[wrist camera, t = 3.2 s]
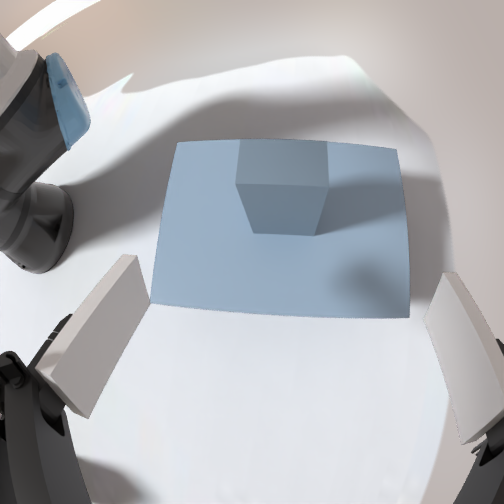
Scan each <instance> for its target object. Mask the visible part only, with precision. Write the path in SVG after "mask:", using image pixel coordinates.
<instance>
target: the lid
mask: <svg viewBox="0 0 504 504" xmlns="http://www.w3.org/2000/svg"><path fill="white" fill-rule="evenodd" d="M150 303H154V304H160V305H167V306H176V307H185V308H194V309H203V310H214V311H224V312H236V313H249V314H263V315H279V316H297V317H321V318H372V319H387V318H409V315H410V265H409V244H408V230H407V219H406V209H405V200H404V193H403V185H402V179H401V172H400V166H399V160H398V155H397V150H396V149H391V148H384V147H376V146H368V145H359V144H349V143H337V142H327V141H313V140H292V139H233V140H206V141H189V142H177V146H176V150H175V155H174V159H173V163H172V168H171V172H170V177H169V182H168V187H167V192H166V197H165V202H164V207H163V213H162V218H161V224H160V230H159V236H158V242H157V249H156V256H155V263H154V270H153V278H152V287H151V296H150Z"/></svg>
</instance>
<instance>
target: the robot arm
mask: <svg viewBox="0 0 504 504" xmlns="http://www.w3.org/2000/svg"><path fill="white" fill-rule="evenodd" d="M90 123H91V119H90V114H89V111H88V108H87V106H86V104H85V101H84V99H83V97H82V95H81V93H80V91H79V89H78V87H77V84H76V82H75V80H74V79H73V76H72V75H71V73H70V71H69V69H68V67H67V65H66V64H65V62H64V61H63V59H62V58H61V57H60V56H59V54H58V53H53V54H51V55H48V56H47V57H46V59H45V60H44V59H43V58H42V57H41V56H40V55H39V54H38V53H37V52H36V51H35V50H25V51H16V50H15V49H14V48H13V47H12V46H11V45H10V44H9V43H8V42H7V40H6V39H5V38H4V37H3V36H2V35H1V34H0V251H1V252H3V253H4V254H5V255H6V256H7V257H8V258H9V259H11V260H12V261H13V262H14V263H15V264H17V265H18V266H19V267H20V268H21V269H23V270H25V271H28V272H31V273H36V274H39V273H43V272H46V271H47V270H49V269H50V268H51V267H53V266H54V265H55V263H56V262H57V261H58V260H59V258H60V257H61V255H62V254H63V252H64V250H65V248H66V246H67V243H68V240H69V238H70V234H71V230H72V225H73V206H72V202H71V199H70V197H69V195H68V194H67V193H66V192H65V191H63V190H62V189H60V188H59V187H57V186H55V185H53V184H45V183H40V182H35V181H36V180H37V179H38V178H39V177H40V176H41V175H42V174H43V173H44V172H45V171H46V170H47V169H48V168H49V167H50V166H51V165H52V164H53V163H54V162H55V161H56V160H57V159H58V158H59V157H61V156H62V155H63V154H64V153H65V152H66V151H67V150H68V151H69V150H70V149H71V146H72V145H73V144H74V143H75V142H77V141H78V140H79V139H80V138H81V137H82V136H83V135H84V134H85V133H86V132H87V131H88V129H89V127H90ZM150 304H151V303H150V300H149V297H148V293H147V290H146V286H145V283H144V279H143V276H142V272H141V269H140V265H139V261H138V257H137V255H124V254H123V255H122V256H121V257H120V258H119V259H118V260H117V262H116V263H115V264H114V265H113V266H112V267H111V269H110V270H109V271H108V272H107V273H106V274H105V276H104V277H103V278H102V279H101V280H100V282H99V283H98V284H97V285H96V286H95V288H94V289H93V290H92V291H91V292H90V294H89V295H88V296H87V297H86V299H85V300H84V301H83V302H82V304H81V305H80V306H79V308H78V309H77V310H76V311H75V313H74V314H69V315H68V316H66V317H65V318H64V319H63V320H61V321H60V322H59V324H58V325H57V326H56V328H55V329H54V330H53V331H54V332H52V333H51V334H50V336H49V337H48V340H46V341H45V342H44V344H43V345H42V347H41V348H40V349H39V351H38V352H37V354H36V355H35V357H34V358H33V359H32V361H31V362H30V364H29V365H28V366H27V367H26V366H25V365H24V363H23V362H22V361H21V359H20V358H19V357H18V355H17V354H16V353H15V352H13V351H6V352H4V353H2V354H1V355H0V413H1V414H2V417H1V419H0V504H92V503H91V500H90V498H89V495H88V492H87V490H86V487H85V484H84V481H83V478H82V475H81V471H80V468H79V465H78V461H77V458H76V454H75V451H74V447H73V443H72V439H71V434H70V430H69V425H68V420H67V415H66V413H65V411H64V410H63V409H64V407H65V405H67V406H68V407H69V408H70V409H71V411H72V412H74V413H76V414H78V415H80V416H82V417H85V418H87V419H89V417H90V415H91V413H92V411H93V409H94V407H95V405H96V403H97V401H98V399H99V397H100V395H101V393H102V391H103V389H104V387H105V385H106V383H107V381H108V379H109V377H110V375H111V373H112V372H113V370H114V368H115V366H116V364H117V362H118V360H119V359H120V357H121V355H122V353H123V351H124V349H125V348H126V346H127V344H128V342H129V340H130V339H131V337H132V335H133V333H134V332H135V330H136V328H137V326H138V325H139V323H140V321H141V319H142V318H143V316H144V314H145V312H146V311H147V309H148V307H149V306H150ZM423 320H424V323H425V325H426V328H427V330H428V333H429V335H430V338H431V341H432V344H433V346H434V349H435V352H436V355H437V358H438V361H439V364H440V367H441V370H442V373H443V376H444V379H445V382H446V386H447V389H448V393H449V396H450V400H451V404H452V407H453V411H454V415H455V419H456V423H457V428H458V432H459V437H460V442H461V445H464V444H467V443H470V442H473V441H476V440H477V439H479V438H480V437H481V436H483V435H484V434H485V433H486V436H487V439H485V440H484V441H483V442H482V443H480V444H479V445H478V446H476V447H475V448H474V449H473V450H472V452H471V453H474V452H476V451H477V450H479V449H480V451H479V452H478V453H477V454H476V456H477V458H476V460H475V462H474V464H473V467H472V469H471V471H470V473H469V475H468V477H467V479H466V481H465V483H464V485H463V487H462V489H461V491H460V492H459V494H458V496H457V498H456V500H455V501H454V503H453V504H504V344H503V343H502V342H501V341H500V340H499V339H495V338H494V336H493V334H492V332H491V330H490V328H489V326H488V324H487V322H486V320H485V319H484V317H483V315H482V313H481V312H480V310H479V308H478V307H477V305H476V303H475V301H474V300H473V298H472V296H471V295H470V293H469V291H468V290H467V288H466V287H465V285H464V283H463V282H462V280H461V279H460V277H459V276H458V274H457V273H454V272H443V274H442V276H441V279H440V282H439V284H438V287H437V289H436V292H435V294H434V297H433V299H432V301H431V304H430V306H429V308H428V311H427V313H426V315H425V317H424V319H423Z"/></svg>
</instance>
